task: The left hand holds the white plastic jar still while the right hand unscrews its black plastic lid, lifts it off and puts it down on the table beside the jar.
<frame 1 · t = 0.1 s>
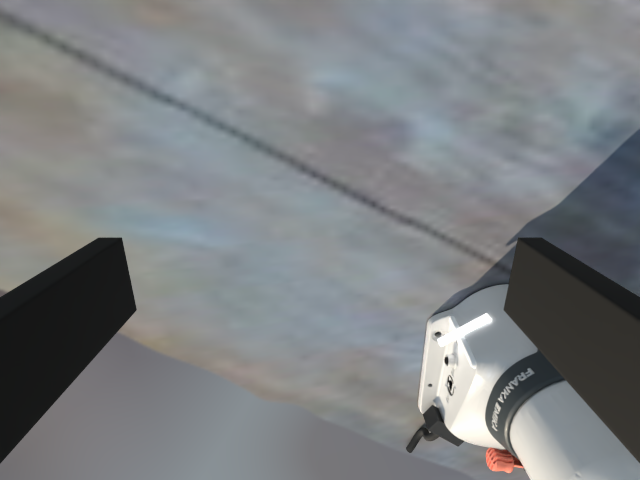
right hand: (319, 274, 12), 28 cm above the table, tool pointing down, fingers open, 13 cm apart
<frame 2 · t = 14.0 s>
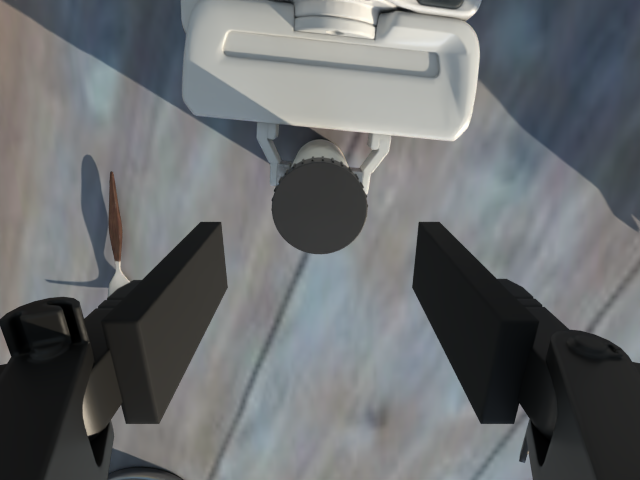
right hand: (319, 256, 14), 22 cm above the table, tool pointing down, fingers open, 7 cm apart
left hand: (319, 188, 29), fingers closed on jar, 5 cm apart
lid: (319, 208, 20), point 15 cm above the table, screwed on, not yet turned
jar: (319, 165, 34), on the table, touching left hand
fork: (120, 248, 37), on the table
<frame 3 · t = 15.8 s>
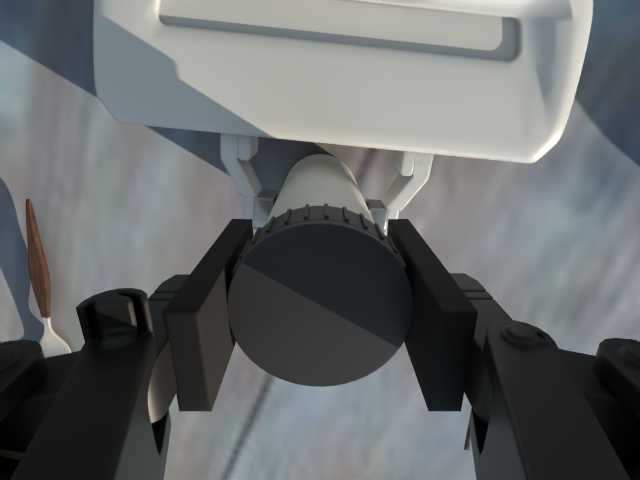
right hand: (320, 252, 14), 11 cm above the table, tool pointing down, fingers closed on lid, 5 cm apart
left hand: (319, 232, 19), fingers closed on jar, 5 cm apart
lid: (320, 306, 10), point 15 cm above the table, screwed on, not yet turned, touching right hand
jar: (320, 189, 24), on the table, touching left hand
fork: (50, 299, 27), on the table
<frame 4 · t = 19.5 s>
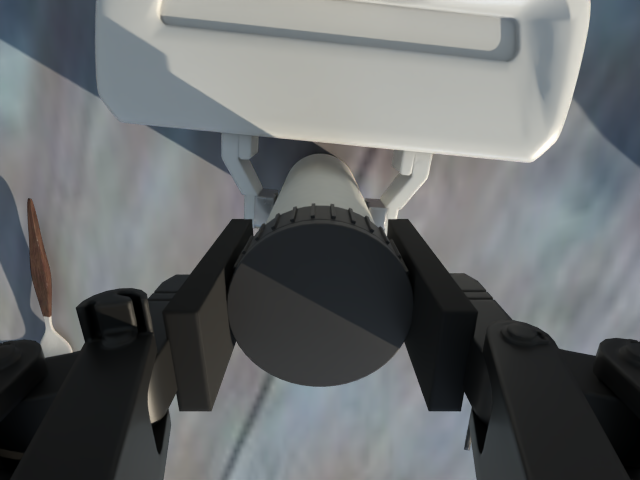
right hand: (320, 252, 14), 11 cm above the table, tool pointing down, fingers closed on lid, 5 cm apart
left hand: (319, 230, 19), fingers closed on jar, 5 cm apart
lid: (320, 306, 10), point 15 cm above the table, turned 128° so far, risen 0.1 cm, still on its thread, touching right hand
jar: (320, 189, 25), on the table, touching left hand
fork: (51, 298, 27), on the table
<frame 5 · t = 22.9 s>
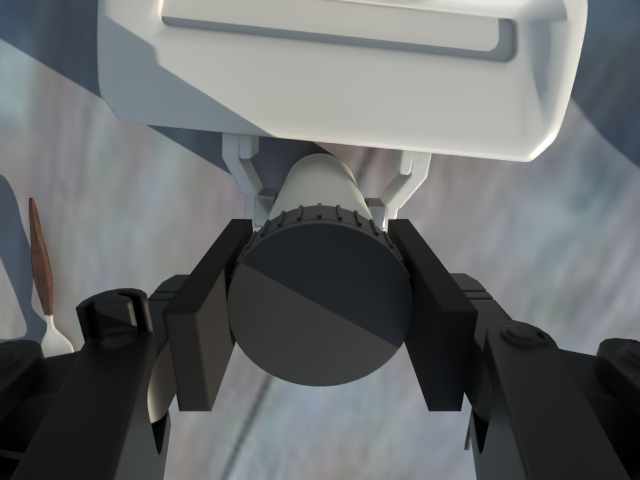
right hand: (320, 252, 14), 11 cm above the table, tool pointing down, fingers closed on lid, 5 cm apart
left hand: (319, 229, 19), fingers closed on jar, 5 cm apart
lid: (320, 306, 10), point 15 cm above the table, turned 256° so far, risen 0.3 cm, still on its thread, touching right hand
jar: (320, 188, 25), on the table, touching left hand
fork: (53, 297, 28), on the table
when the right hand's fingers open (0 cm above the table, at t = 33.2 s): lid drops 3 cm, point 1 cm above the table.
when the left hand's fingers open (6 cm above the table, at t = 33.8 s): jar stays where it is, on the table.
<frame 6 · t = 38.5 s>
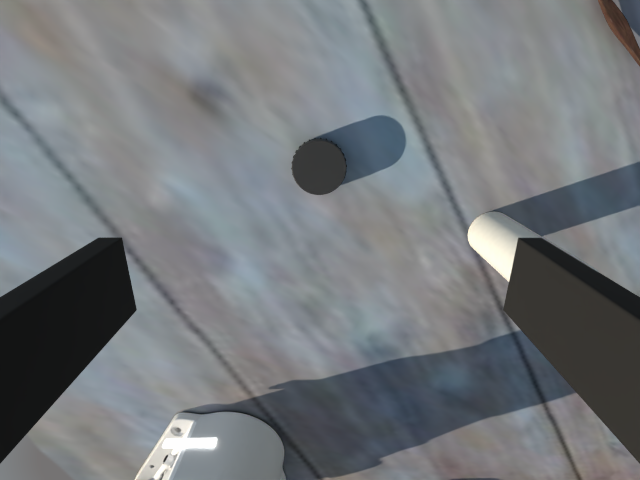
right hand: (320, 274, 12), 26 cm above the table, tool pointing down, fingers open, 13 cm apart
lid: (319, 167, 35), point 1 cm above the table, off its thread
jar: (490, 232, 39), on the table
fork: (598, 2, 31), on the table
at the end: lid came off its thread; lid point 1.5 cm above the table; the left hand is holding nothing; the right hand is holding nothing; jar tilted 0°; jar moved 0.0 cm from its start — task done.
